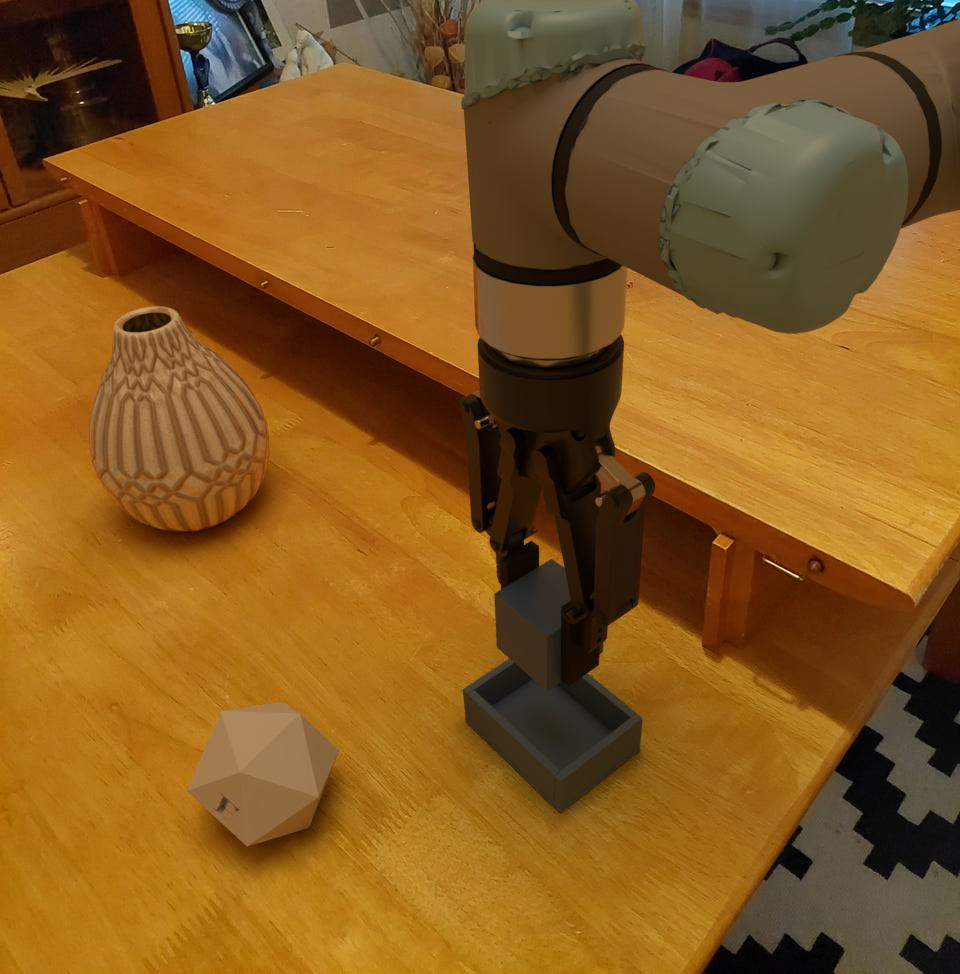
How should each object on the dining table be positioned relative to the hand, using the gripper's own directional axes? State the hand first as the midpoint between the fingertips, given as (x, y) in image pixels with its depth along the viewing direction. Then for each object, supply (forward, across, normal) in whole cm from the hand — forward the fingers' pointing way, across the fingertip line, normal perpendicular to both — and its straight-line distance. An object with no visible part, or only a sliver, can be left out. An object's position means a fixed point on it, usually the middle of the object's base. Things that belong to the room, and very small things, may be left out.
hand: (549, 647), depth 61 cm
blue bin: (+9, 0, 0) cm, 9 cm away
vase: (+10, +43, +7) cm, 45 cm away
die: (+9, +8, +18) cm, 22 cm away
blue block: (0, 0, 0) cm, 0 cm away
